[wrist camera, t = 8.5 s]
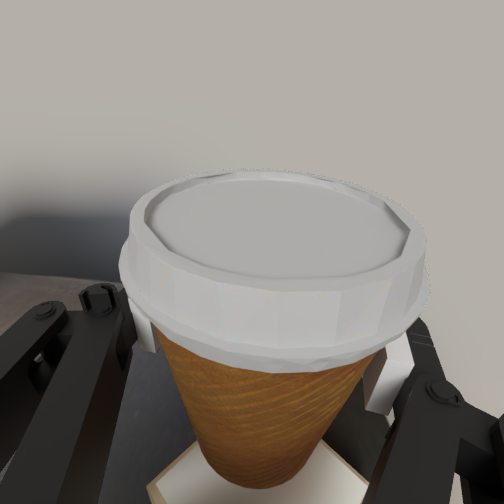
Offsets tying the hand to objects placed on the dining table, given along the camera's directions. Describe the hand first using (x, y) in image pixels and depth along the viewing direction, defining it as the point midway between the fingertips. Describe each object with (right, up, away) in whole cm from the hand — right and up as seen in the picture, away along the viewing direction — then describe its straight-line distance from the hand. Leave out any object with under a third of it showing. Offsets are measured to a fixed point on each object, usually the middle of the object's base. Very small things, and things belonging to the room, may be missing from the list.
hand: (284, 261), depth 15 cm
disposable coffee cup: (-2, -9, 0) cm, 9 cm away
